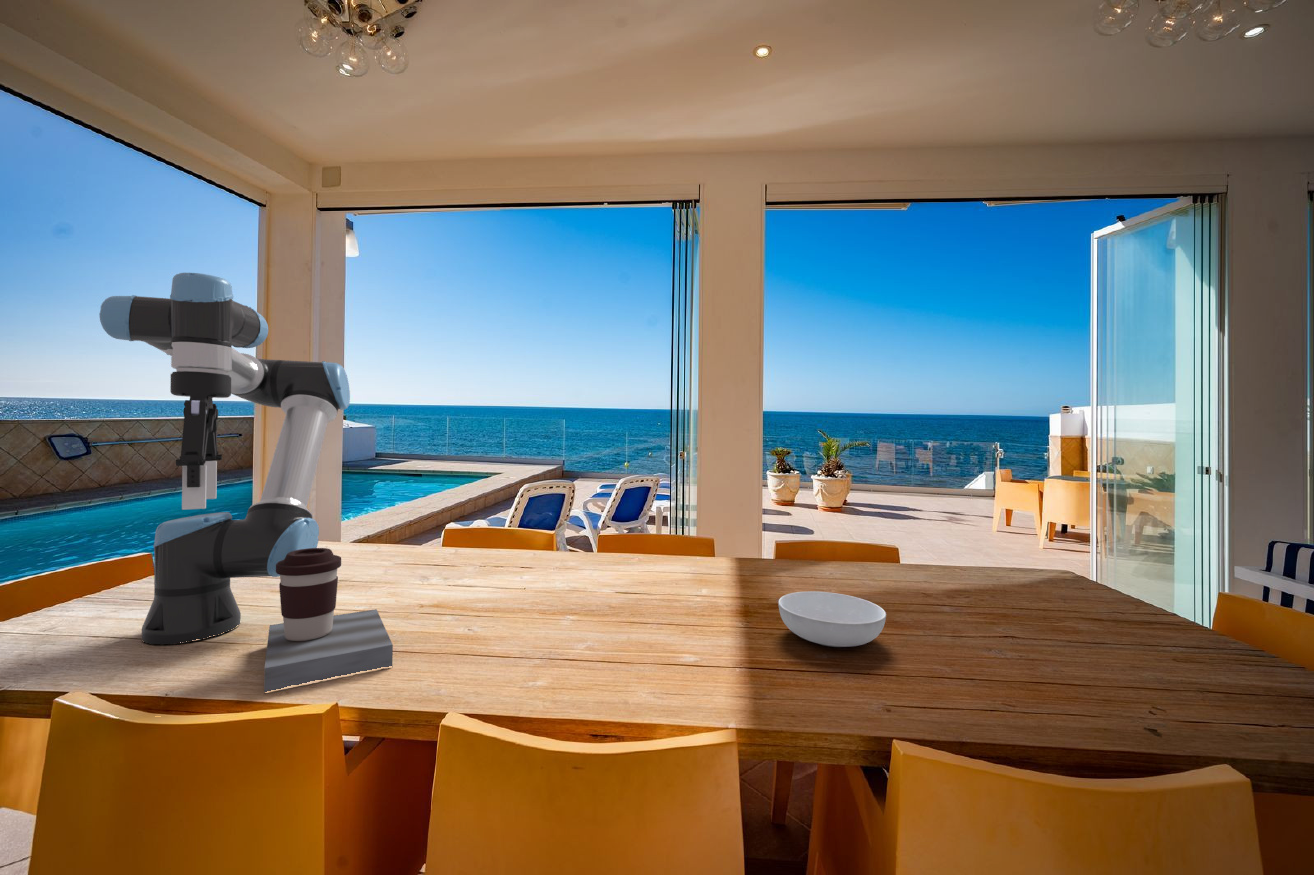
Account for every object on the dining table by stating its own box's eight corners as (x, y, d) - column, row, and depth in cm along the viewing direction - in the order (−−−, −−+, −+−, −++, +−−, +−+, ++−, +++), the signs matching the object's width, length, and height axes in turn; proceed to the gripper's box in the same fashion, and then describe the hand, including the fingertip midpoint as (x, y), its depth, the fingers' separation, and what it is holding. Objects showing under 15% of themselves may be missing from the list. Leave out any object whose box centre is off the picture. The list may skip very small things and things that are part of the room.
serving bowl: (896, 665, 99) (897, 627, 99) (778, 654, 103) (779, 617, 103) (874, 625, 119) (875, 594, 119) (776, 617, 123) (777, 587, 123)
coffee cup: (319, 645, 93) (319, 558, 93) (261, 645, 93) (261, 557, 93) (351, 625, 103) (352, 546, 103) (299, 624, 103) (300, 545, 103)
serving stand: (269, 646, 102) (269, 625, 102) (376, 628, 112) (376, 609, 112) (264, 694, 84) (264, 668, 84) (392, 667, 94) (392, 644, 94)
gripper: (184, 376, 96) (183, 496, 96) (153, 362, 75) (152, 515, 75) (237, 379, 100) (236, 494, 100) (223, 367, 79) (221, 512, 80)
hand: (200, 503), depth 88 cm, fingers open, 13 cm apart
